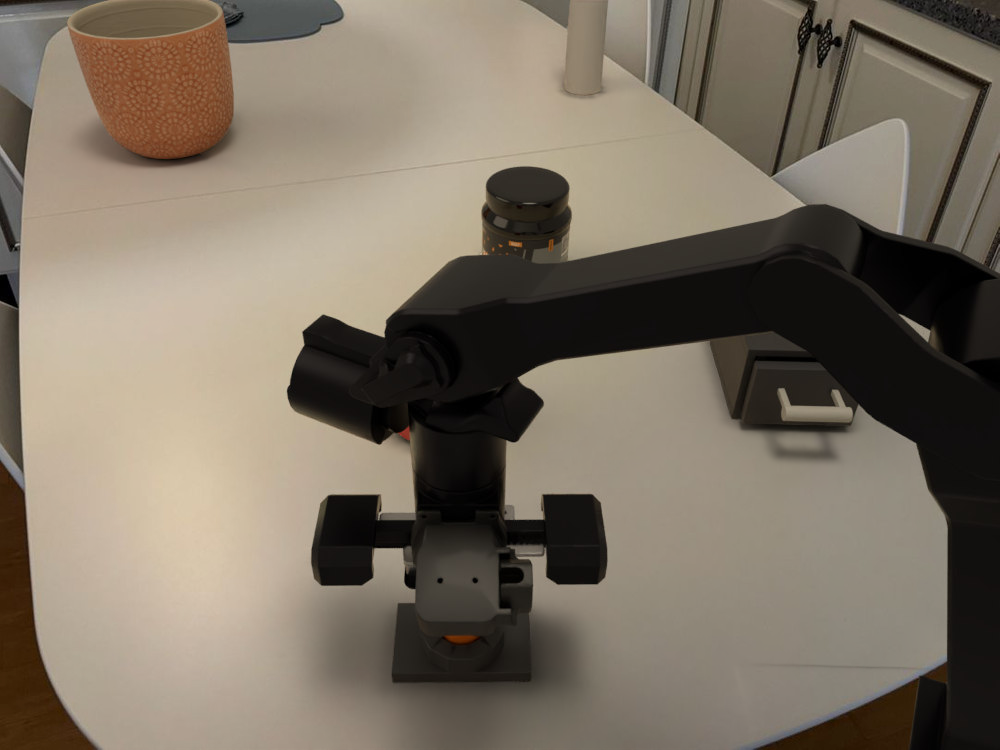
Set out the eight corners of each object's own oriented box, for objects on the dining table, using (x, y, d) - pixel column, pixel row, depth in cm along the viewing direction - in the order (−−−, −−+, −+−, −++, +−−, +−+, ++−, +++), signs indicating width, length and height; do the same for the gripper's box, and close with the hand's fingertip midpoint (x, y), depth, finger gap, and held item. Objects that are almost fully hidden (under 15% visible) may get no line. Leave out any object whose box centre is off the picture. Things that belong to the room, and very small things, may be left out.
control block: (527, 611, 66) (529, 587, 64) (531, 682, 62) (532, 658, 60) (398, 611, 66) (396, 587, 64) (392, 683, 61) (389, 659, 59)
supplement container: (471, 257, 107) (471, 168, 99) (551, 246, 109) (556, 159, 102) (494, 303, 99) (495, 211, 92) (579, 291, 101) (587, 199, 94)
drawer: (863, 454, 79) (885, 399, 75) (751, 451, 79) (766, 396, 75) (818, 353, 91) (835, 300, 87) (720, 351, 91) (732, 298, 87)
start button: (484, 609, 64) (484, 595, 63) (484, 647, 61) (484, 632, 60) (441, 609, 64) (440, 595, 63) (439, 647, 61) (438, 633, 60)
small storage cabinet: (849, 421, 84) (874, 352, 79) (731, 418, 84) (748, 349, 79) (814, 344, 94) (835, 278, 88) (709, 342, 94) (723, 275, 89)
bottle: (605, 84, 154) (621, -89, 136) (595, 97, 149) (610, -81, 131) (570, 79, 156) (581, -93, 138) (559, 91, 151) (569, -85, 133)
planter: (120, 185, 121) (81, 48, 109) (92, 132, 134) (55, 5, 122) (263, 155, 129) (241, 24, 117) (223, 108, 143) (200, -13, 131)
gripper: (278, 566, 45) (315, 720, 55) (631, 564, 45) (604, 718, 55) (311, 424, 54) (337, 579, 64) (607, 423, 54) (587, 578, 64)
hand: (462, 613), depth 61 cm, fingers closed, pressing on start button
